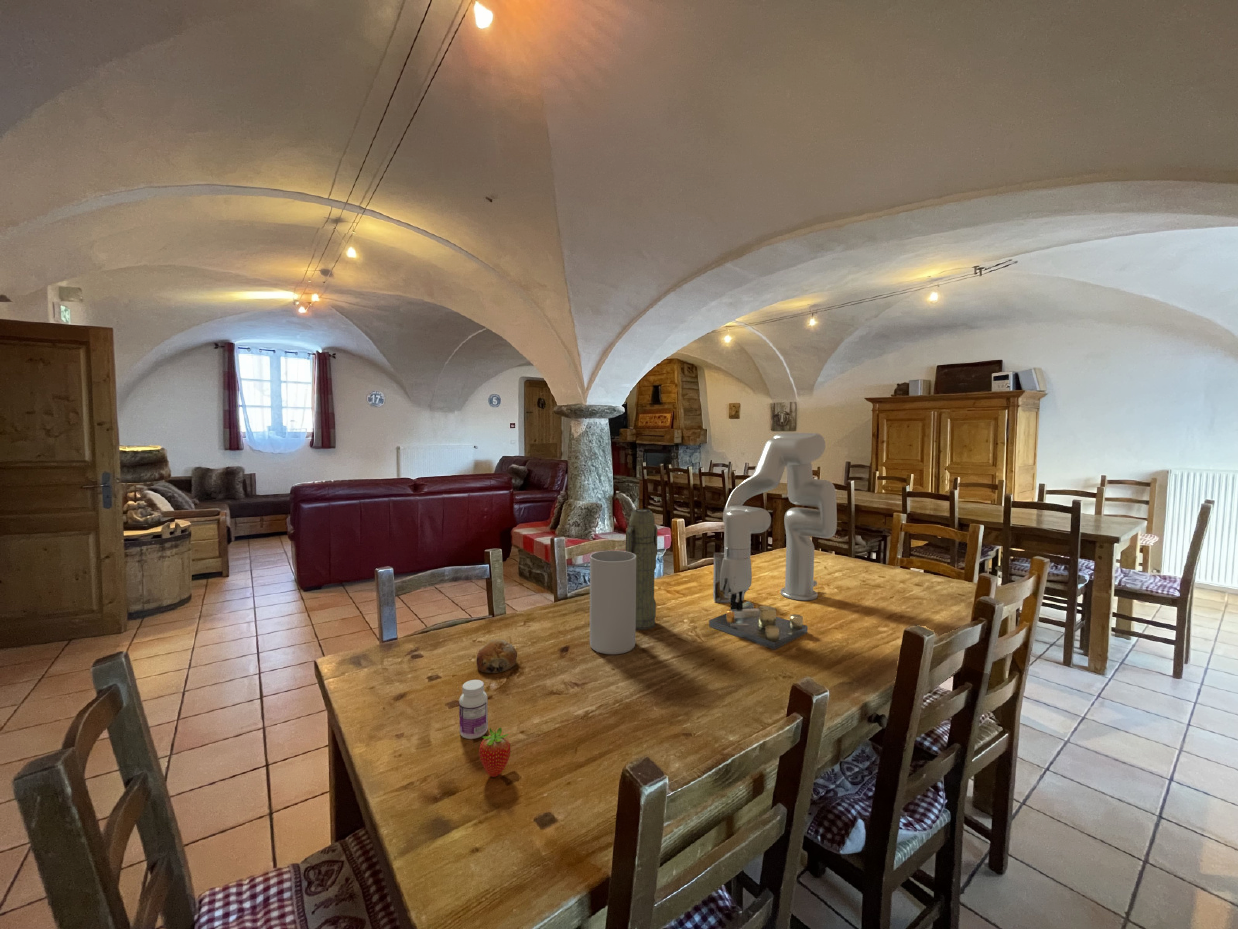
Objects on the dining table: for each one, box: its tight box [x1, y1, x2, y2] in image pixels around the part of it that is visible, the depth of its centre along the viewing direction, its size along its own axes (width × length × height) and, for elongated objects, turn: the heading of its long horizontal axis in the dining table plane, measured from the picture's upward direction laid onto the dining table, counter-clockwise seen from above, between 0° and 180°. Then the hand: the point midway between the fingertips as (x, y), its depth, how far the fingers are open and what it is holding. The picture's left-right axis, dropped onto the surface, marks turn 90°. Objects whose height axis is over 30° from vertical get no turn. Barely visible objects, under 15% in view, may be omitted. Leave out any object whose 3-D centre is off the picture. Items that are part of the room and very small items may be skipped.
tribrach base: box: [708, 601, 809, 651], centre depth 153 cm, size 18×22×5 cm
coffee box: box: [712, 552, 731, 604], centre depth 179 cm, size 9×6×16 cm
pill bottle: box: [458, 679, 489, 740], centre depth 101 cm, size 5×5×10 cm
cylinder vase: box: [589, 550, 637, 655], centre depth 141 cm, size 12×12×25 cm
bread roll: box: [476, 639, 518, 674], centre depth 130 cm, size 10×10×8 cm
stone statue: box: [625, 508, 658, 631], centre depth 156 cm, size 9×12×35 cm
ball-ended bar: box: [725, 605, 777, 629], centre depth 151 cm, size 15×5×5 cm, turn 97°
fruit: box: [478, 727, 511, 778], centre depth 88 cm, size 5×5×8 cm
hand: (736, 613), depth 153 cm, fingers closed
